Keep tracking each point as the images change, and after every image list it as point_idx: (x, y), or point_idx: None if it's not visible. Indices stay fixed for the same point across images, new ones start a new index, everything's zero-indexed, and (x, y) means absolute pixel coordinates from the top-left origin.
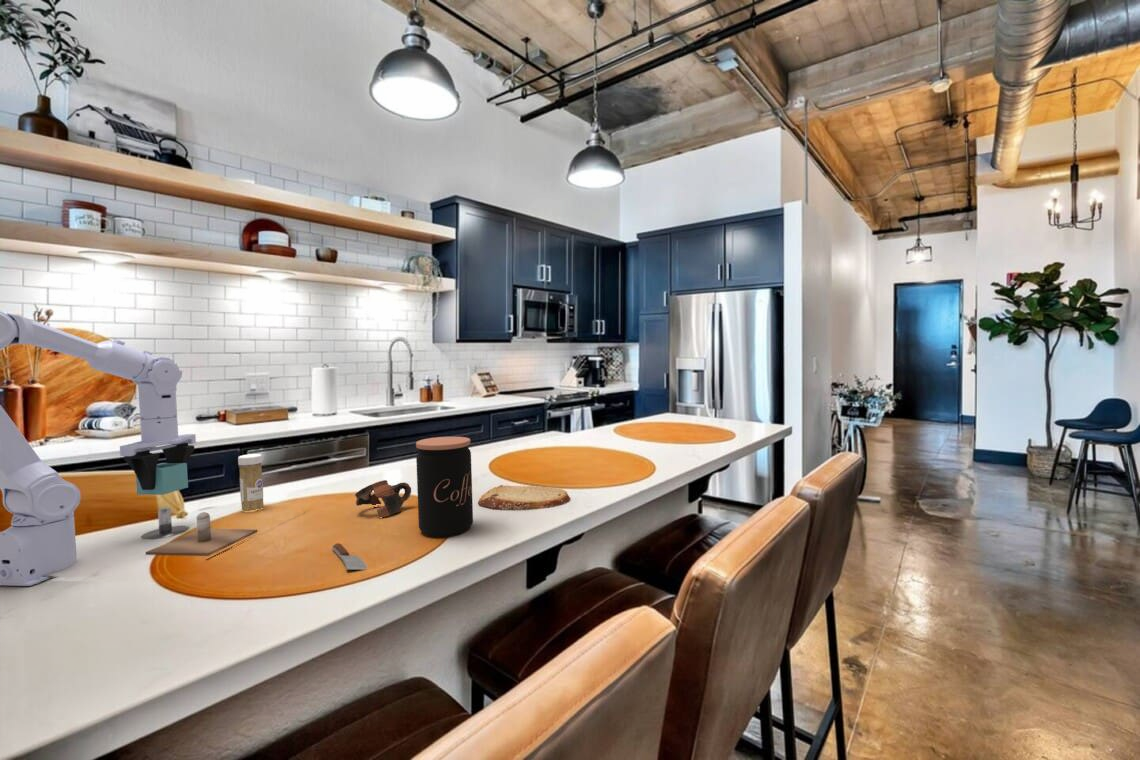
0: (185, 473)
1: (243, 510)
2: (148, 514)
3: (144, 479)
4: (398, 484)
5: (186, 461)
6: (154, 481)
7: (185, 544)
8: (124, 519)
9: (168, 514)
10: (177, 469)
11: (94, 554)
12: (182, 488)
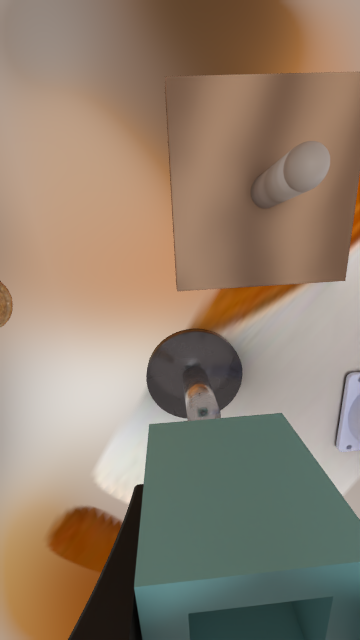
0: (158, 492)
1: (1, 311)
2: (66, 542)
3: None
4: None
5: (90, 631)
6: None
7: (298, 220)
8: (106, 553)
9: (204, 392)
10: (227, 532)
11: (300, 413)
12: (180, 423)
